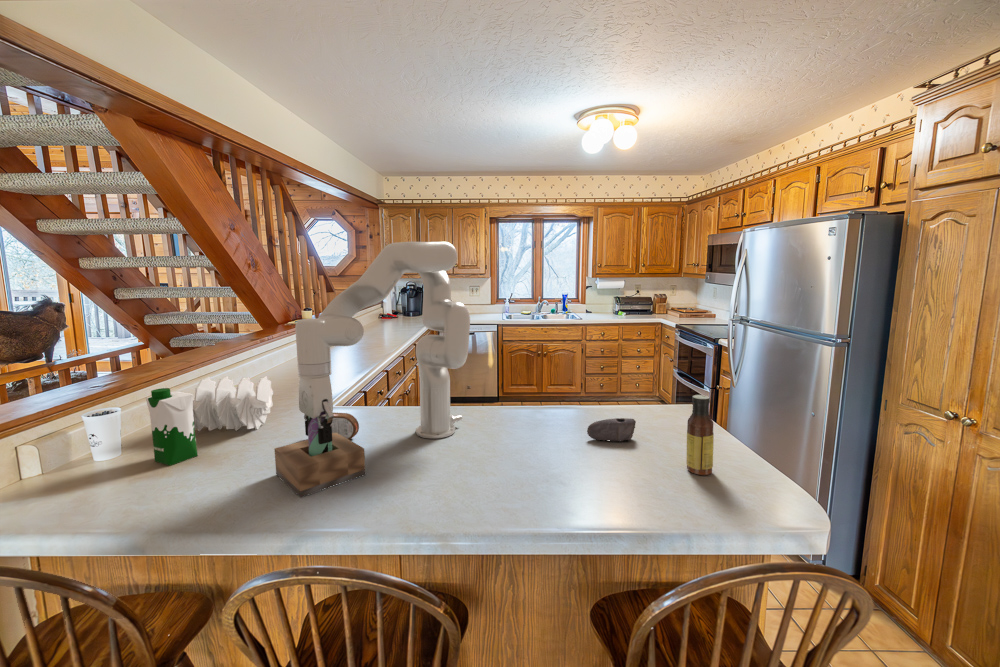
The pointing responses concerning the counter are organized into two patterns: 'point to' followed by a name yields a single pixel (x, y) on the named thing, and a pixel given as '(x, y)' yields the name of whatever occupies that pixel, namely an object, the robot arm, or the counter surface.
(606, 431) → the perforated stone tool
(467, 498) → the counter surface
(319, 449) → the spray can
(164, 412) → the milk carton
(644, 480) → the counter surface
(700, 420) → the sauce bottle
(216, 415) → the spiral staircase
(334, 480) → the socket block
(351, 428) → the tin
